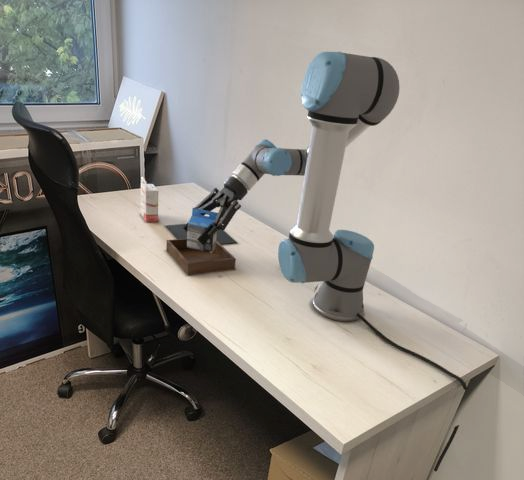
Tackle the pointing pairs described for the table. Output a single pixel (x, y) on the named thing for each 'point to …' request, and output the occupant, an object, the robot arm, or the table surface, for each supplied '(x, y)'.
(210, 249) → the blue gray retail box
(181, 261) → the wooden tray
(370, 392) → the table surface
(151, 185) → the ink cartridge box
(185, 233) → the mat
